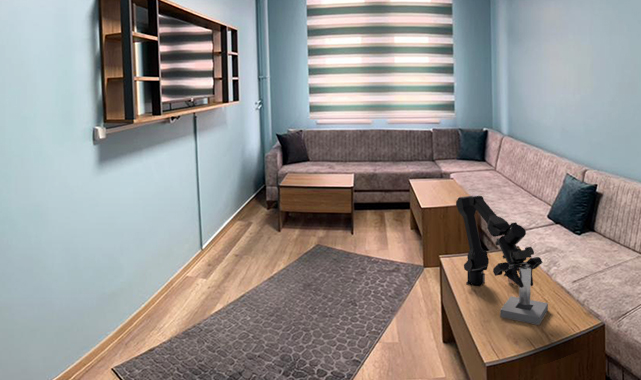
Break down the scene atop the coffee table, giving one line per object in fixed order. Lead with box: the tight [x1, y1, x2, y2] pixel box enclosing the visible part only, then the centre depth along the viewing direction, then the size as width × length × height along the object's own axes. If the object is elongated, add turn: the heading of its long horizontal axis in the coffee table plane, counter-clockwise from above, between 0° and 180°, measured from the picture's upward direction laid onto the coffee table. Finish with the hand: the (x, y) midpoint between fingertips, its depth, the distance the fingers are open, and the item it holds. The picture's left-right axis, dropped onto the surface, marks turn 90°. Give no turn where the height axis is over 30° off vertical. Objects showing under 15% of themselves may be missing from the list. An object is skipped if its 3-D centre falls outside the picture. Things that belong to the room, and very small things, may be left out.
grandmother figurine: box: [503, 268, 520, 286], centre depth 224 cm, size 8×4×13 cm, turn 71°
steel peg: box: [518, 266, 532, 305], centre depth 195 cm, size 4×4×14 cm
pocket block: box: [499, 295, 549, 326], centre depth 197 cm, size 14×14×3 cm
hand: (527, 286), depth 193 cm, fingers closed on steel peg, 4 cm apart
